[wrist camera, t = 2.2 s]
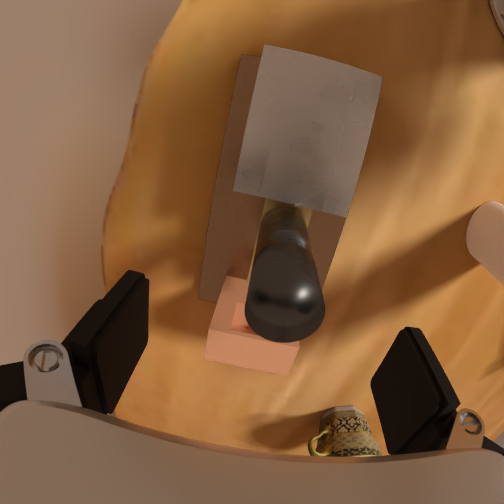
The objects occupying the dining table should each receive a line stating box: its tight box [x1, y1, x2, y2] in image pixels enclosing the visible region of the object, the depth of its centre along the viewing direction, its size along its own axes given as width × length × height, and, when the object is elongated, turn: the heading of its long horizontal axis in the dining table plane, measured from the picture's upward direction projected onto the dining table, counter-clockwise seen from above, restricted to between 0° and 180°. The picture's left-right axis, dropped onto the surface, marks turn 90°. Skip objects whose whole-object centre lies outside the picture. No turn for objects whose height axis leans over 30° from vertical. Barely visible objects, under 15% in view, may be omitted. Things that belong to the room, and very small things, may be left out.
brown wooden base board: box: [198, 44, 383, 303], centre depth 23 cm, size 24×12×9 cm, turn 168°
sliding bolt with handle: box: [244, 198, 325, 343], centre depth 15 cm, size 16×3×12 cm, turn 168°
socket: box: [204, 276, 300, 375], centre depth 26 cm, size 3×7×8 cm, turn 78°
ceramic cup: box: [308, 405, 382, 457], centre depth 35 cm, size 13×10×10 cm
